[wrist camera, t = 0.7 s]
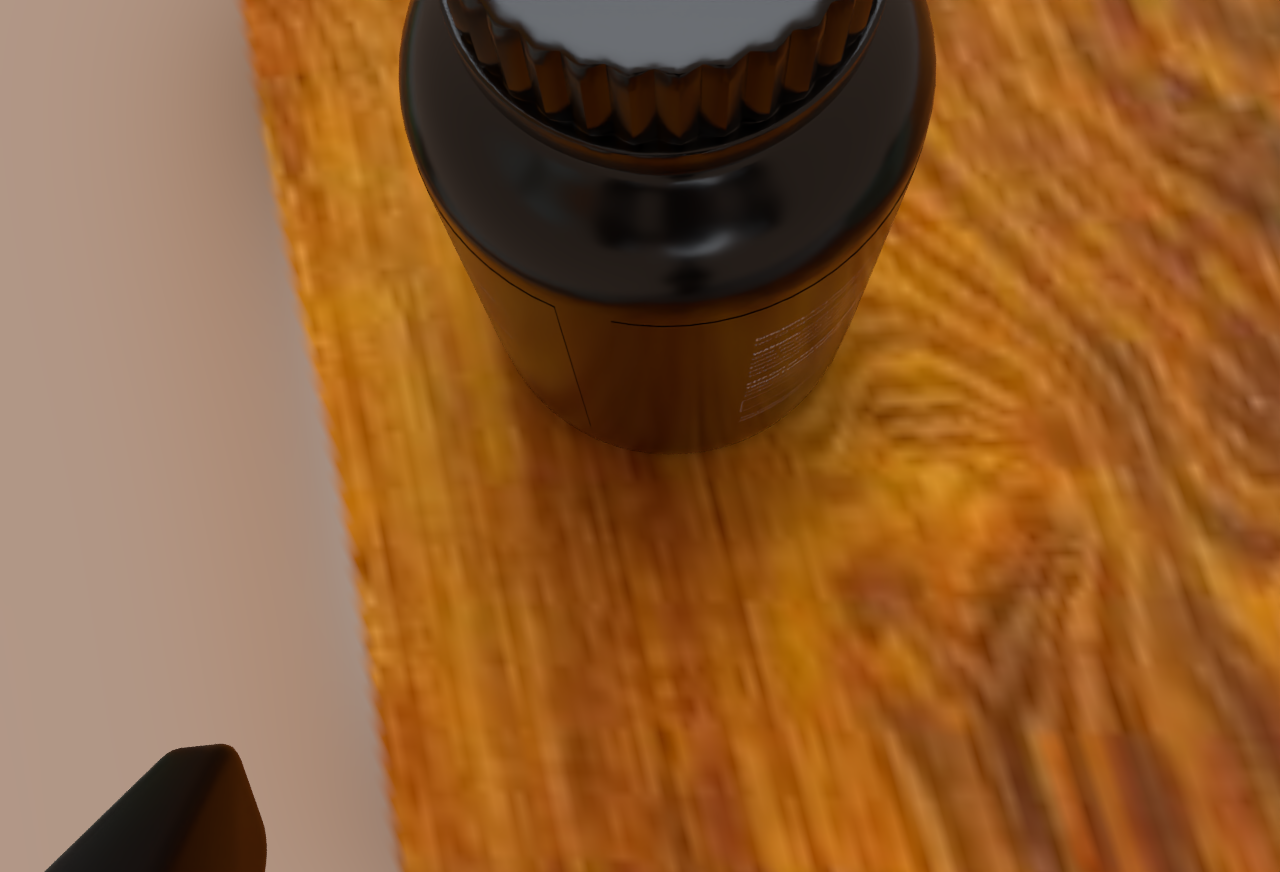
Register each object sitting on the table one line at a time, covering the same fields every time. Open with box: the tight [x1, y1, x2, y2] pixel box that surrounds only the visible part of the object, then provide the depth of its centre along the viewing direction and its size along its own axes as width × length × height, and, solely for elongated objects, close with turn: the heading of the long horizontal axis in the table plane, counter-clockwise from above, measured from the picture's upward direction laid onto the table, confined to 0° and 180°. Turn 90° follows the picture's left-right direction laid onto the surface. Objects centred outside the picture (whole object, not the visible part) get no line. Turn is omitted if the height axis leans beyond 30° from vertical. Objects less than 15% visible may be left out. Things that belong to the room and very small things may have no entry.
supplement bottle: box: [399, 0, 936, 454], centre depth 17 cm, size 7×7×12 cm
